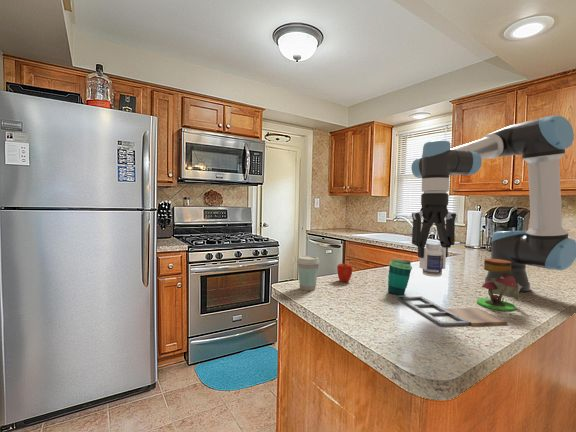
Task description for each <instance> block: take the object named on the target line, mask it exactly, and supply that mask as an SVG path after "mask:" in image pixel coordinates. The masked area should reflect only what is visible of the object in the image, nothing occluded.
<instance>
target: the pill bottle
mask: <svg viewBox="0 0 576 432" xmlns="http://www.w3.org/2000/svg"><path fill="white" fill-rule="evenodd" d="M425 247H426V248H428V252H427V269H422V275H424V276H427V277H433V278H434V277H435V278H437V277H439V278H440V277H441V276H442V275H443V269H442V257H443V254H442V252H441V251H440V250H439V249H440V247H441V244H440V243H437V242H426V245H425Z"/></svg>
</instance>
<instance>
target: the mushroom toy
mask: <svg viewBox="0 0 576 432" xmlns="http://www.w3.org/2000/svg"><path fill="white" fill-rule="evenodd" d="M483 265H484V267H483V270H484V271H487V272H488V271H491V272H496V273H511V262H510V261H507V260H501V259H491V258H485V259H484V262H483ZM481 288H483V289H486V290H487V293H488V296H489V297H490V298H486V297H485V298H483V297H482V298H478V299H476V303H477V304H478V305H480V306H482V307H485V308H488V309H493V310H498V311H507V312H508V311H509V312H510V311H515V310H516V305H515V304H513V303H510V302H507V301H505V300H504V299H505V298H504V297H507V298H508V297H509V298H513V299H515V300H517V301H519V294H520V293H519V290H520V289H521V288H522V286H520V285H519V284H518V283H516V282H515V279H514V278H513V277H512V276H509V275H504V276H501V277H499V278H498V279H497V278H491V281H487V282H485V281H484V283H483V284H482V285H481ZM503 296H504V297H503Z"/></svg>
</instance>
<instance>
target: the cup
mask: <svg viewBox="0 0 576 432" xmlns="http://www.w3.org/2000/svg"><path fill="white" fill-rule="evenodd" d="M388 265H389V267H388V268H389V270H388V278H387V279H388V281H387V285H388V286H387V291H388V293H389V294H392V295H395V296H403V295H405V292H406V289H407V288H408V284H409V281H410V276H411V272H412V270H413V266H411V265H412V264H411V261H410V260H407V259H398V258H397V259H392V260H391V261H389V262H388Z"/></svg>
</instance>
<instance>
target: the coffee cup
mask: <svg viewBox="0 0 576 432" xmlns="http://www.w3.org/2000/svg"><path fill="white" fill-rule="evenodd" d="M296 263H297V269H298V270H297V271H298V279H299V280H298V282H299V289H300V290H301V291H306V292H312V291H315V290H316V285H317V279H318V271H319V266H320V265H319V264H320V260H319V257H318V256H314V255H302V256H301V255H300V256H298V259H297V260H296Z"/></svg>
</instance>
